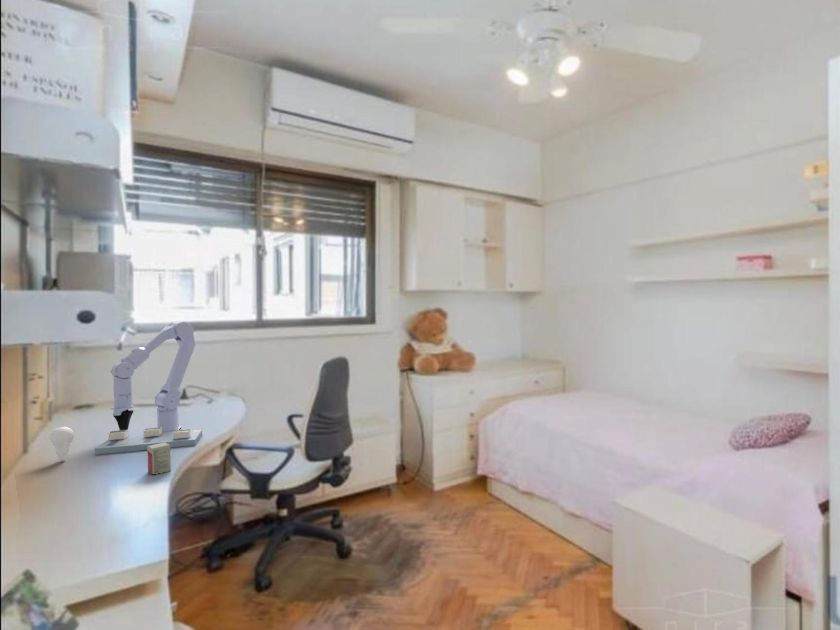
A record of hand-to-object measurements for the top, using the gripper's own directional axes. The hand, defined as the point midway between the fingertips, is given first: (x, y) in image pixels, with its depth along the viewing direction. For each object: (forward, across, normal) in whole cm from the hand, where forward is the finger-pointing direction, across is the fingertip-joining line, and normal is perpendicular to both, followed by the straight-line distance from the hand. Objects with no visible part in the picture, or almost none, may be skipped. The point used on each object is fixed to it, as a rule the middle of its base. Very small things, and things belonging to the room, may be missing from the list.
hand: (123, 431), depth 172 cm
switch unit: (+3, +10, +12) cm, 16 cm away
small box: (+4, +44, +22) cm, 50 cm away
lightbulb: (+4, +22, -11) cm, 25 cm away
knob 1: (+1, +6, 0) cm, 6 cm away
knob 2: (+1, +6, +11) cm, 13 cm away
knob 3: (+1, +13, +22) cm, 26 cm away
